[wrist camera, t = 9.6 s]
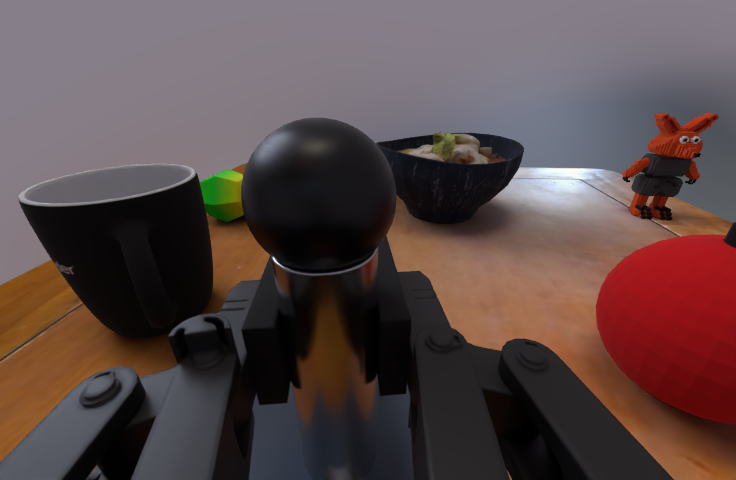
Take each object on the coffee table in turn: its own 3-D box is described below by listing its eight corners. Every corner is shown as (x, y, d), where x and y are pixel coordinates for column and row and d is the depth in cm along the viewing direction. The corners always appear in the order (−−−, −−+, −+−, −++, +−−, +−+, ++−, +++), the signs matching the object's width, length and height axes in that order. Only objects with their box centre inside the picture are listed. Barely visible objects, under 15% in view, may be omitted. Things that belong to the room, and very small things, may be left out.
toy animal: (629, 223, 38) (671, 116, 33) (606, 207, 43) (639, 112, 38) (705, 227, 37) (761, 117, 32) (672, 210, 42) (716, 112, 37)
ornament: (704, 340, 21) (795, 196, 17) (858, 494, 13) (1107, 301, 9) (557, 321, 23) (602, 186, 18) (616, 447, 15) (719, 266, 11)
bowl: (354, 202, 46) (352, 129, 41) (448, 185, 53) (455, 121, 48) (426, 253, 32) (435, 152, 27) (539, 221, 39) (561, 136, 35)
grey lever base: (282, 313, 24) (272, 255, 22) (400, 306, 24) (403, 249, 22) (163, 793, 8) (78, 763, 6) (518, 740, 8) (571, 691, 6)
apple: (190, 159, 37) (265, 158, 37) (217, 182, 44) (282, 181, 43) (180, 216, 36) (258, 216, 35) (210, 231, 42) (277, 232, 41)
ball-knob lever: (313, 331, 19) (287, 99, 13) (369, 328, 19) (367, 98, 14) (290, 547, 10) (187, 134, 5) (394, 536, 11) (420, 130, 5)
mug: (92, 302, 25) (30, 176, 21) (212, 266, 30) (184, 157, 25) (86, 416, 17) (-23, 244, 12) (256, 341, 21) (224, 196, 17)
